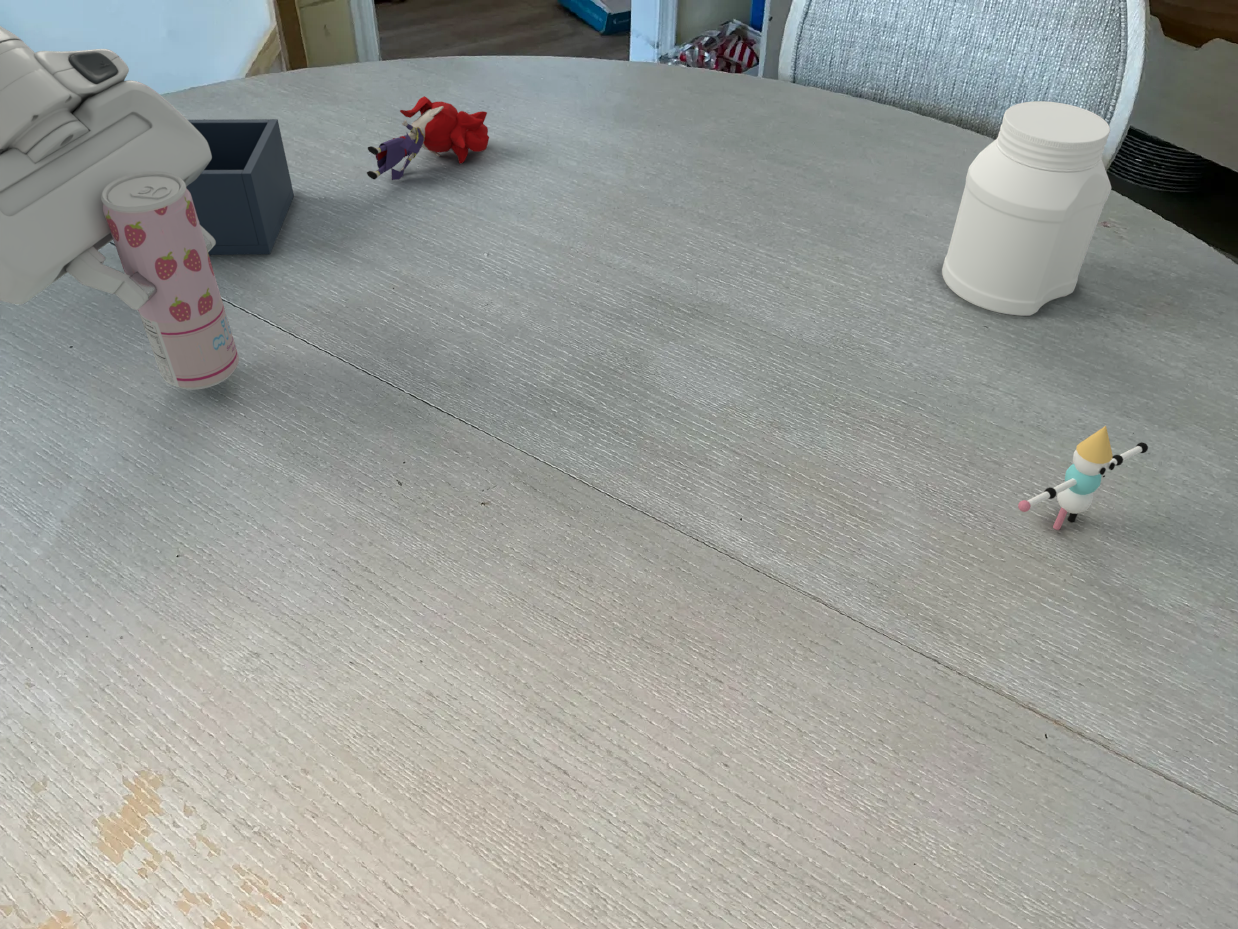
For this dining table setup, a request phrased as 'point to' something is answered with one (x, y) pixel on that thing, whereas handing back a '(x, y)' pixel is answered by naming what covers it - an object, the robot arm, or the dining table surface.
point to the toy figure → (1083, 476)
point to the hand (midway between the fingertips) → (178, 275)
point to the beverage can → (172, 277)
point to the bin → (242, 185)
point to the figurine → (432, 136)
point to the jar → (1029, 209)
